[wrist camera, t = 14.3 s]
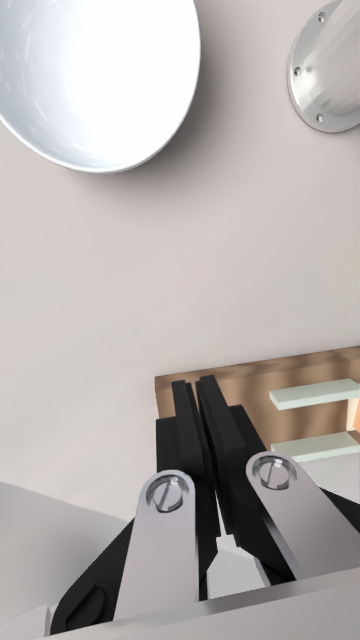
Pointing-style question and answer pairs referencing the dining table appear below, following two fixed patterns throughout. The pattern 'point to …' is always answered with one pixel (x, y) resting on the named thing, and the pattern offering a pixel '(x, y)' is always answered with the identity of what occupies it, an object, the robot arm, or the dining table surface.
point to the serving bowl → (97, 78)
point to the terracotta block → (357, 418)
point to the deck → (263, 376)
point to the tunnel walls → (311, 396)
